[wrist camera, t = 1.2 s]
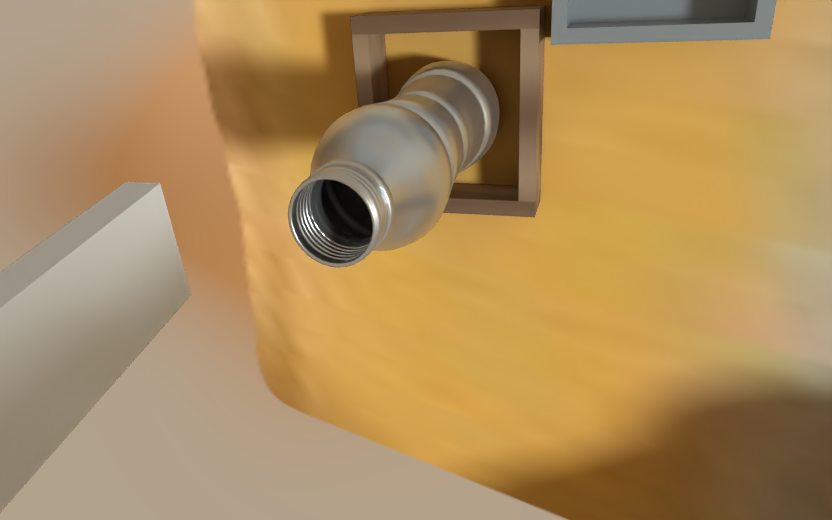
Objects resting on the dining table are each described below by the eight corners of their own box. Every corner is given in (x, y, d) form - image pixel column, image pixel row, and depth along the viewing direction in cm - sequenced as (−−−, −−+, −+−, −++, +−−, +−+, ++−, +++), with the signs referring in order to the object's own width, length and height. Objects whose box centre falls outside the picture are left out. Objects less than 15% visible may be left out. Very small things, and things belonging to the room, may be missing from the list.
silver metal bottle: (521, 73, 38) (437, 169, 21) (486, 173, 42) (389, 327, 24) (423, 40, 39) (266, 105, 22) (397, 140, 42) (242, 266, 25)
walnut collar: (540, 200, 41) (534, 217, 39) (383, 194, 44) (368, 208, 42) (545, 5, 36) (539, 8, 34) (368, 12, 39) (350, 16, 37)
